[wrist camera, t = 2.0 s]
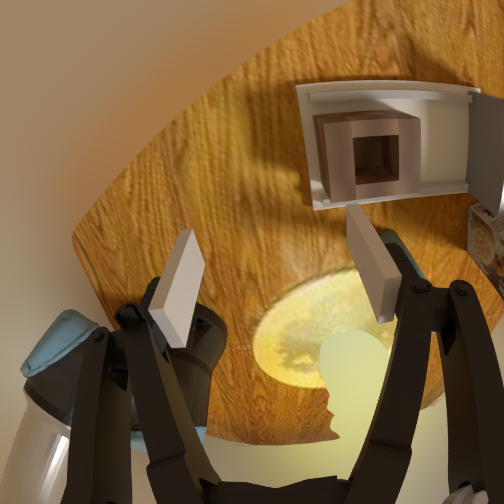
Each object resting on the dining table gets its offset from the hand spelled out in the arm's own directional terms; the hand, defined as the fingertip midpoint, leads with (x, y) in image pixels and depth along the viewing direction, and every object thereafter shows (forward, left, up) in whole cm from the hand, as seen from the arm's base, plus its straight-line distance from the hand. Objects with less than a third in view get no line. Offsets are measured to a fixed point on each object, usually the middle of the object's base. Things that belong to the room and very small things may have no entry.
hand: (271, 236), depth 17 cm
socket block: (+11, 0, -16) cm, 20 cm away
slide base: (+17, 0, -17) cm, 24 cm away
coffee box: (+33, -14, -18) cm, 40 cm away
